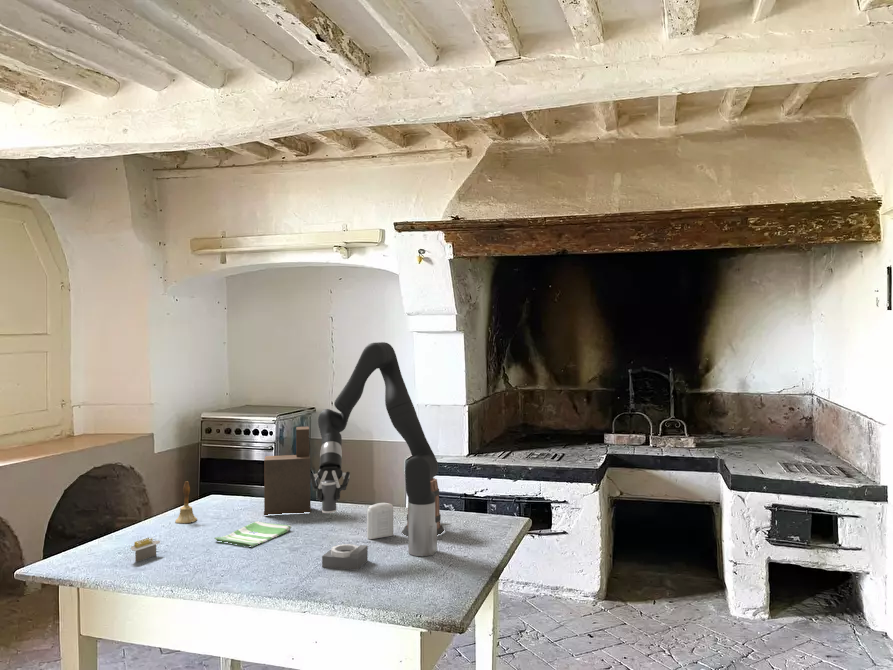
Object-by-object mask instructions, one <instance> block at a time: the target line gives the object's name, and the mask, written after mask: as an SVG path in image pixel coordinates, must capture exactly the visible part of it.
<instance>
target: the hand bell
mask: <svg viewBox="0 0 893 670" xmlns="http://www.w3.org/2000/svg"><path fill="white" fill-rule="evenodd" d="M190 492H191V486H190V482H189V481H188V480H187V481H184V484H183V488H182V493H183V496H184V501H183V506H182V507H180V509H179V514H178V517H177V519H175V524H183V523H184V524H190V523H191V522H192V523H194V522H196V521H198V518H197V517H196V516H195V514H194V511H193V507H192V506H190V505H189V500H190V499H189V497H190ZM184 524H183V525H184Z"/></svg>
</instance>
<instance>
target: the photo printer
mask: <svg viewBox="0 0 893 670" xmlns="http://www.w3.org/2000/svg"><path fill="white" fill-rule="evenodd" d="M393 535H394V506H393V504H392V503H387V502H378V503H374V504H371V505H369V506H368V507H367V509H366V538H367V539H368V540H375V539H380V538H387V537H393Z"/></svg>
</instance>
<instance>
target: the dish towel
mask: <svg viewBox="0 0 893 670" xmlns="http://www.w3.org/2000/svg"><path fill="white" fill-rule="evenodd" d="M291 528H292V525H289V524H278V523H269V522H264V521H263V522H262V521H258V520H257V521H254V522H251V523H249V524H248V525H244V526H243V527H242V528H241V527H240V528H239V529H236V530H235V531H233V532H231V533H230V534H227V535H224V536H217V537H214V540H216V541H222V542H228V543H232V544H237V545H244V546H251V547H253V546H255V545H257V546H259V545H258V544H260V543H262V544H264V543H263V542H265V541H267V540H270V539H272V538H274V537H277V536H279V535H281V534H283V535H285V534H286V533H288V532H289V531H290V530H291ZM253 531H254V532H258V533H255V534H253V533H249V532H253ZM284 533H285V534H284ZM281 536H282V535H281ZM279 537H280V536H279ZM277 538H278V537H277ZM274 539H275V538H274ZM272 540H273V539H272ZM270 541H271V540H270ZM267 542H268V541H267ZM265 543H266V542H265ZM237 545H236V546H237ZM260 545H261V544H260ZM244 546H243V547H244ZM255 547H256V546H255ZM253 548H254V547H253Z"/></svg>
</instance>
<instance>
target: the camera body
mask: <svg viewBox="0 0 893 670" xmlns="http://www.w3.org/2000/svg"><path fill="white" fill-rule="evenodd" d="M368 548H369V547H368V545H362V544H360V545H356V544H349V543H345V544H338V545H334V546H332V547H331V548H330V549H329V551H327V552H326V553H325V554H323V555H322V556H321V567H322V568H327V567H329V569H340V570H352V571H353V570H355V571H358V570H360V568H361V567H362V566H364V564H366V563H367V562H368Z"/></svg>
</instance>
